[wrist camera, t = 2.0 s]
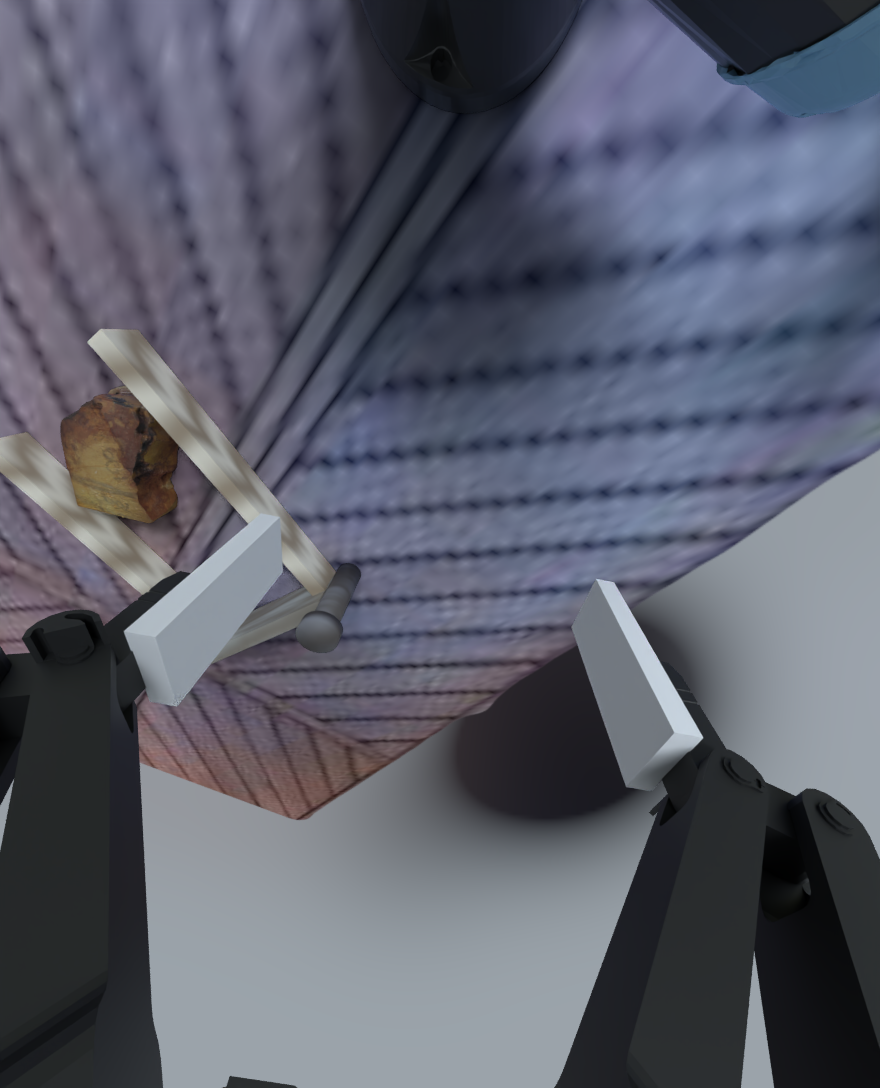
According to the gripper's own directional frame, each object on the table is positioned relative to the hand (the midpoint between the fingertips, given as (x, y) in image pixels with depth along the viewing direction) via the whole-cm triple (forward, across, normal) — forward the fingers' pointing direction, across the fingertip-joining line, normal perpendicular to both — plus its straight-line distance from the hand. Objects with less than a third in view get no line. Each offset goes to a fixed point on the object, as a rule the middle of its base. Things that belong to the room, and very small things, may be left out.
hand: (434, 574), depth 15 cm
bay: (+25, -28, -16) cm, 40 cm away
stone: (+26, -34, -10) cm, 44 cm away
